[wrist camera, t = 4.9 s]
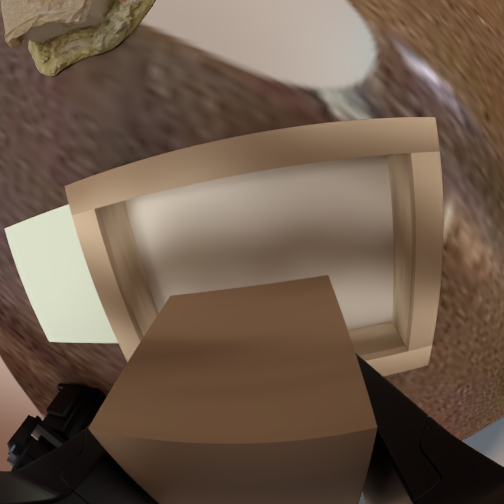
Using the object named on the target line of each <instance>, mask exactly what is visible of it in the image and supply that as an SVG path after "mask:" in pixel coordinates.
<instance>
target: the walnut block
mask: <svg viewBox="0 0 504 504" xmlns="http://www.w3.org/2000/svg"><path fill="white" fill-rule="evenodd" d="M88 429H89V430H90V432H91V433H92V434H93V435H94V436H95V438H96V439H97V440H98V441H99V443H100V444H101V445H102V446H103V447H104V448H105V450H106V451H107V452H108V453H109V454H110V455H111V456H112V458H113V459H114V460H115V461H116V462H117V463H118V464H119V465H120V466H121V467H122V468H123V469H124V470H125V471H126V472H127V474H128V475H129V476H130V477H131V478H132V479H133V480H134V481H135V482H136V483H138V484H139V485H140V486H141V487H142V488H143V489H144V490H145V491H146V492H147V493H148V494H149V495H150V496H151V497H152V498H154V499H155V500H156V501H157V502H158V503H159V504H358V503H359V500H360V497H361V493H362V490H363V486H364V483H365V479H366V475H367V471H368V468H369V464H370V459H371V455H372V451H373V446H374V442H375V437H376V432H377V424H376V420H375V417H374V413H373V410H372V406H371V403H370V399H369V396H368V392H367V389H366V386H365V382H364V379H363V376H362V372H361V369H360V366H359V363H358V360H357V357H356V353H355V350H354V347H353V344H352V341H351V338H350V335H349V332H348V329H347V326H346V323H345V320H344V318H343V315H342V312H341V309H340V306H339V303H338V300H337V298H336V295H335V292H334V289H333V287H332V284H331V281H330V279H329V276H328V275H324V276H318V277H311V278H305V279H298V280H291V281H284V282H277V283H269V284H262V285H255V286H247V287H239V288H232V289H224V290H216V291H207V292H199V293H190V294H182V295H173V296H170V297H169V299H168V300H167V302H166V303H165V305H164V306H163V308H162V309H161V311H160V312H159V314H158V315H157V317H156V318H155V320H154V321H153V323H152V325H151V326H150V328H149V329H148V331H147V332H146V334H145V335H144V337H143V339H142V340H141V342H140V343H139V345H138V347H137V348H136V350H135V351H134V353H133V354H132V356H131V358H130V359H129V361H128V363H127V364H126V366H125V367H124V369H123V371H122V372H121V374H120V376H119V377H118V379H117V380H116V382H115V384H114V385H113V387H112V389H111V390H110V392H109V394H108V395H107V397H106V399H105V400H104V402H103V404H102V406H101V407H100V409H99V411H98V412H97V414H96V416H95V418H94V419H93V421H92V423H91V424H90V426H89V428H88Z"/></svg>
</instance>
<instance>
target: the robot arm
mask: <svg viewBox="0 0 504 504" xmlns="http://www.w3.org/2000/svg"><path fill="white" fill-rule="evenodd" d="M355 353H356V352H355ZM356 357H357V360H358V363H359V366H360V369H361V372H362V376H363V379H364V382H365V386H366V389H367V392H368V396H369V399H370V403H371V406H372V410H373V413H374V417H375V420H376V424H377V432H376V437H375V442H374V446H373V451H372V455H371V459H370V464H369V468H368V471H367V475H366V479H365V483H364V486H363V490H362V492H363V496H364V500H365V504H504V467H503V466H501V465H499V464H497V463H496V462H494V461H493V460H491V459H489V458H487V457H486V456H484V455H483V454H481V453H479V452H478V451H476V450H475V449H473V448H471V447H469V446H468V445H467V444H465V443H464V442H462V441H461V440H459V439H458V438H456V437H455V436H453V435H452V434H451V433H449V432H448V431H447V430H446V429H444V428H443V427H442V426H441V425H439V424H438V423H437V422H436V421H435V420H433V419H432V418H431V417H428V415H427V414H426V413H425V412H424V411H423V410H422V409H420V408H419V407H418V406H417V405H416V404H415V403H413V402H412V401H411V400H410V399H409V398H408V397H406V396H405V395H404V394H403V393H402V392H401V391H399V390H398V389H397V388H396V387H395V386H394V385H393V384H391V383H390V382H389V381H388V380H387V379H386V378H384V377H383V376H382V375H381V374H380V373H379V372H377V371H376V370H375V369H374V368H373V367H372V366H371V365H369V364H368V363H367V362H366V361H365V360H364V359H362V358H361V357H360V356H359V355H358V354H357V353H356ZM56 388H57V390H58V391H59V393H58V395H57V396H56V397H55V399H54V400H53V401H52V403H51V404H50V406H49V407H48V408H47V411H46V412H47V416H46V417H45V418H44V420H43V421H42V420H41V418H40V417H38V416H36V418H34V417H32V416H30V415H28V417H27V418H26V419H25V421H24V422H23V423H22V425H21V426H20V427H19V429H18V430H17V431H16V433H15V434H14V435H13V436H12V438H11V439H10V440H9V442H8V448H9V453H8V454H9V455H10V456H9V457H8V459H7V461H8V462H9V463H10V464H11V465H12V468H11V469H10V471H0V504H159V503H158V502H157V501H156V500H155V499H154V498H152V497H151V496H150V495H149V494H148V493H147V492H146V491H145V490H144V489H143V488H142V487H141V486H140V485H139V484H138V483H136V482H135V481H134V480H133V479H132V478H131V477H130V476H129V475H128V474H127V472H126V471H125V470H124V469H123V468H122V467H121V466H120V465H119V464H118V463H117V462H116V461H115V460H114V459H113V458H112V456H111V455H110V454H109V453H108V452H107V451H106V450H105V448H104V447H103V446H102V445H101V444H100V443H99V441H98V440H97V439H96V438H95V436H94V435H93V434H92V433H91V432H90V430H89V429H88V428H89V426H90V424H91V423H92V421H93V419H94V418H95V416H96V414H97V412H98V411H99V409H100V407H101V406H102V404H103V402H104V400H105V397H104V395H103V394H102V393H101V391H99V390H97V389H91V388H83V387H76V386H69V385H63V384H58V385H57V387H56ZM31 434H33V435H34V436H35V437H36V438H37V440H35V438H33V437H32V436H31Z"/></svg>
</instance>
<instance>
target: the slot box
mask: <svg viewBox="0 0 504 504" xmlns="http://www.w3.org/2000/svg"><path fill="white" fill-rule="evenodd" d="M65 190H66V194H67V199H68V203H69V207H70V210H71V214H72V218H73V221H74V225H75V229H76V232H77V235H78V239H79V242H80V245H81V248H82V251H83V255H84V258H85V261H86V263H87V266H88V269H89V272H90V275H91V278H92V280H93V283H94V286H95V289H96V291H97V294H98V296H99V299H100V301H101V304H102V306H103V309H104V311H105V314H106V316H107V318H108V321H109V323H110V325H111V328H112V330H113V332H114V334H115V337H116V339H117V341H118V343H119V345H120V347H121V350H122V352H123V354H124V356H125V358H126V360H127V362H128V361H129V359H130V358H131V356H132V354H133V353H134V351H135V350H136V348H137V347H138V345H139V343H140V342H141V340H142V339H143V337H144V335H145V334H146V332H147V331H148V329H149V328H150V326H151V325H152V323H153V321H154V320H155V318H156V317H157V315H158V314H159V312H160V311H161V309H162V308H163V306H164V305H165V303H166V302H167V300H168V299H169V297H170V296H173V295H182V294H190V293H199V292H207V291H216V290H224V289H232V288H239V287H247V286H255V285H262V284H269V283H277V282H284V281H291V280H298V279H305V278H311V277H318V276H324V275H328V276H329V279H330V281H331V284H332V287H333V289H334V292H335V295H336V298H337V300H338V303H339V306H340V309H341V312H342V315H343V318H344V320H345V323H346V326H347V329H348V332H349V335H350V338H351V341H352V344H353V347H354V350H355V352H356V353H357V354H358V355H359V356H360V357H361V358H362V359H364V360H365V361H366V362H367V363H368V364H369V365H371V366H372V367H373V368H374V369H375V370H376V371H377V372H379V373H380V374H381V375H382V376H387V375H392V374H396V373H400V372H404V371H408V370H412V369H415V368H419V367H423V366H426V365H428V363H429V358H430V353H431V348H432V343H433V337H434V331H435V325H436V318H437V311H438V303H439V294H440V284H441V272H442V256H443V187H442V171H441V159H440V150H439V141H438V133H437V126H436V119H435V117H403V118H379V119H363V120H351V121H340V122H330V123H321V124H312V125H304V126H297V127H290V128H283V129H277V130H271V131H265V132H259V133H253V134H248V135H243V136H237V137H232V138H227V139H223V140H218V141H213V142H209V143H205V144H200V145H196V146H192V147H188V148H184V149H180V150H176V151H172V152H168V153H165V154H161V155H157V156H154V157H150V158H147V159H143V160H140V161H137V162H133V163H130V164H127V165H124V166H121V167H118V168H114V169H111V170H108V171H105V172H102V173H100V174H97V175H94V176H91V177H88V178H85V179H83V180H80V181H77V182H75V183H72V184H69V185H67V186H65Z"/></svg>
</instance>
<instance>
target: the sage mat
mask: <svg viewBox="0 0 504 504" xmlns="http://www.w3.org/2000/svg"><path fill="white" fill-rule="evenodd" d="M5 232H6V236H7V239H8V242H9V245H10V249H11V252H12V255H13V258H14V261H15V264H16V267H17V269H18V272H19V275H20V277H21V280H22V283H23V285H24V288H25V290H26V293H27V295H28V298H29V300H30V302H31V305H32V307H33V309H34V311H35V314H36V316H37V318H38V320H39V322H40V324H41V326H42V328H43V330H44V333H45V335H46V336H47V338H48V340H49V342H71V343H118V341H117V339H116V337H115V334H114V332H113V330H112V328H111V325H110V323H109V321H108V318H107V316H106V314H105V311H104V309H103V306H102V304H101V301H100V299H99V296H98V294H97V291H96V289H95V286H94V283H93V280H92V278H91V275H90V272H89V269H88V266H87V263H86V261H85V258H84V255H83V251H82V248H81V245H80V242H79V239H78V235H77V232H76V229H75V225H74V221H73V218H72V214H71V210H70V207H69V204H68V205H65V206H62V207H60V208H57V209H54V210H51V211H48V212H46V213H43V214H40V215H38V216H35V217H32V218H30V219H27V220H25V221H22V222H19V223H17V224H14V225H12V226H10V227H7V228H5Z"/></svg>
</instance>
